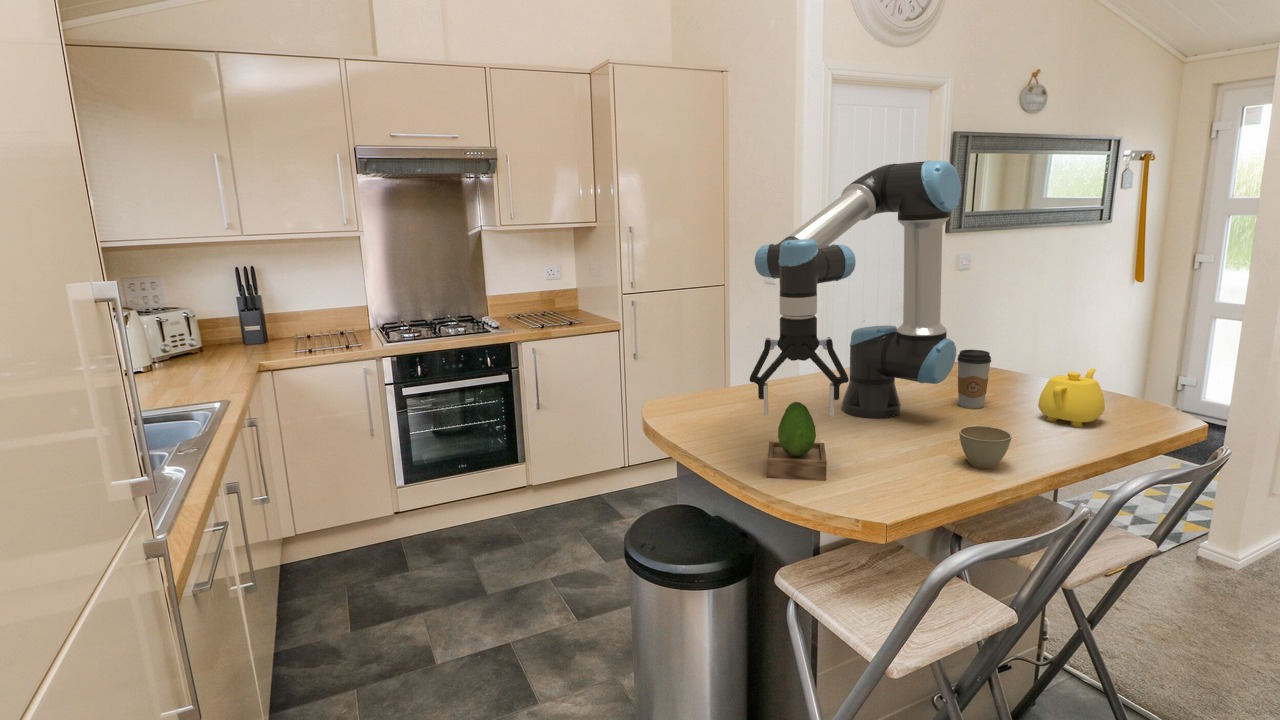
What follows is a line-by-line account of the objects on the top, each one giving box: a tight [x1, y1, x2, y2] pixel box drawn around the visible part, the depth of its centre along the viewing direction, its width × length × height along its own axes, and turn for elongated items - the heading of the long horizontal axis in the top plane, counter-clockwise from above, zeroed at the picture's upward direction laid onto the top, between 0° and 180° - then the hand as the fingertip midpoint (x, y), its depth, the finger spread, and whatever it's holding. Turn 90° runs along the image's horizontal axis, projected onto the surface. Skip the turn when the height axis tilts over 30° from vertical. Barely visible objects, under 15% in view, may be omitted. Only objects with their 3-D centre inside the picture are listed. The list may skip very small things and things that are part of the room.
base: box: [766, 440, 828, 481], centre depth 150 cm, size 12×12×4 cm
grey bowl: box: [958, 425, 1012, 469], centre depth 149 cm, size 10×10×7 cm
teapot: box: [1037, 367, 1106, 428], centre depth 175 cm, size 13×20×12 cm
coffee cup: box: [956, 349, 992, 410], centre depth 190 cm, size 8×8×15 cm
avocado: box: [777, 401, 817, 456], centre depth 149 cm, size 8×8×12 cm
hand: (798, 414), depth 149 cm, fingers open, 13 cm apart
